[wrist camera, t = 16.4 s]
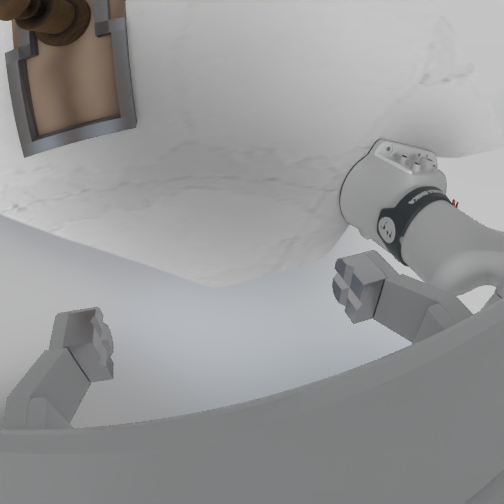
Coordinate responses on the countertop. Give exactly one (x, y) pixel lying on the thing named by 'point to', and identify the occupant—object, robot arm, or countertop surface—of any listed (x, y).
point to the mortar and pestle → (49, 18)
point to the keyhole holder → (72, 82)
